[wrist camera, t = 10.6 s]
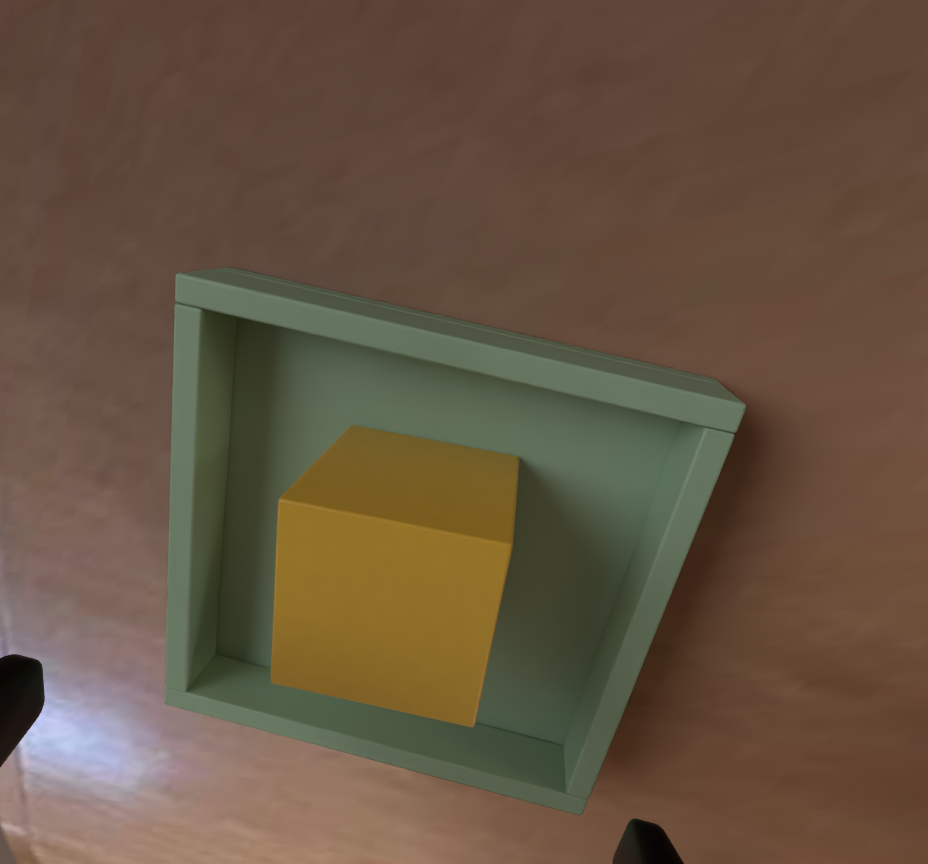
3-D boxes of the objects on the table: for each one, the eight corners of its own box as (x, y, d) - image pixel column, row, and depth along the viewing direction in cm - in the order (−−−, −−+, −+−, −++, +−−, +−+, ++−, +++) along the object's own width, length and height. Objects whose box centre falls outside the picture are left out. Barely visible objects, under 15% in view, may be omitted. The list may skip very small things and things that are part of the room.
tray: (576, 747, 16) (582, 817, 14) (207, 649, 17) (163, 705, 15) (715, 378, 12) (748, 405, 10) (229, 266, 13) (173, 271, 11)
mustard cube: (491, 600, 14) (474, 729, 11) (338, 568, 15) (268, 684, 11) (520, 455, 13) (513, 545, 9) (350, 423, 13) (277, 498, 9)
